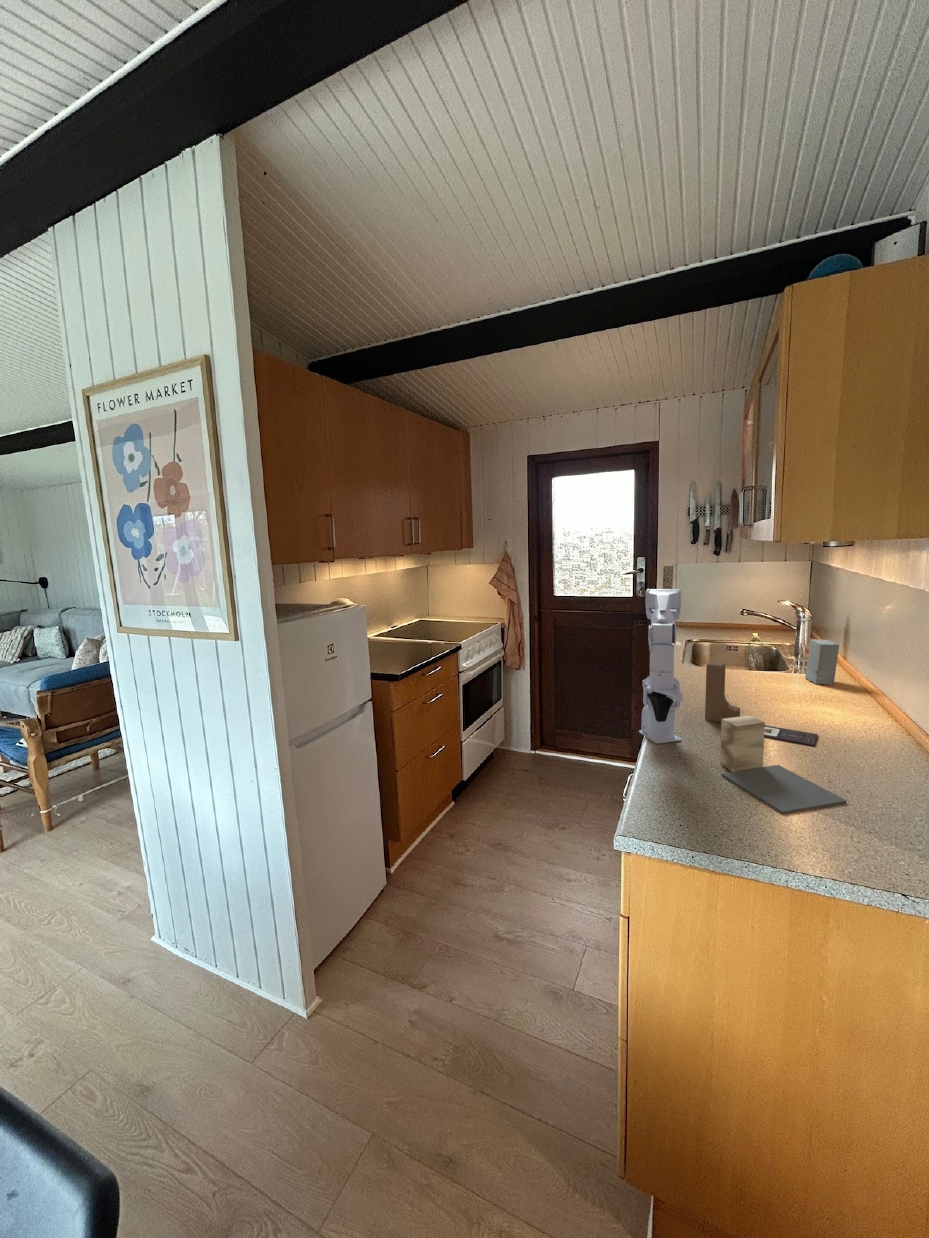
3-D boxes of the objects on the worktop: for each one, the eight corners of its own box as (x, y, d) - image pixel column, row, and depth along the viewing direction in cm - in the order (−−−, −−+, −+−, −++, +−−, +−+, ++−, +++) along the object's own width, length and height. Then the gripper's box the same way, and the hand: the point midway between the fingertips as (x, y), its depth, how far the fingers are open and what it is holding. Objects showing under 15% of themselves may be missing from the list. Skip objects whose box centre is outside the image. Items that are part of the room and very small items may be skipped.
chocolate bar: (814, 744, 134) (739, 731, 146) (814, 748, 135) (739, 734, 146) (817, 734, 141) (745, 721, 153) (817, 737, 141) (745, 724, 153)
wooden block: (739, 721, 155) (742, 664, 152) (736, 725, 151) (738, 668, 148) (708, 715, 160) (710, 661, 158) (704, 720, 157) (706, 664, 154)
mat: (721, 775, 121) (721, 773, 121) (778, 766, 124) (778, 764, 124) (782, 814, 103) (782, 811, 103) (846, 802, 107) (846, 800, 106)
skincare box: (804, 678, 195) (807, 639, 192) (825, 678, 193) (827, 638, 191) (815, 685, 186) (818, 643, 184) (837, 685, 185) (840, 643, 183)
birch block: (720, 764, 127) (721, 718, 125) (747, 760, 129) (749, 715, 127) (734, 772, 122) (736, 725, 120) (762, 768, 124) (764, 722, 122)
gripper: (632, 664, 134) (632, 713, 136) (664, 677, 120) (663, 732, 122) (656, 662, 136) (655, 711, 138) (690, 675, 122) (689, 728, 123)
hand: (660, 720), depth 130 cm, fingers closed
